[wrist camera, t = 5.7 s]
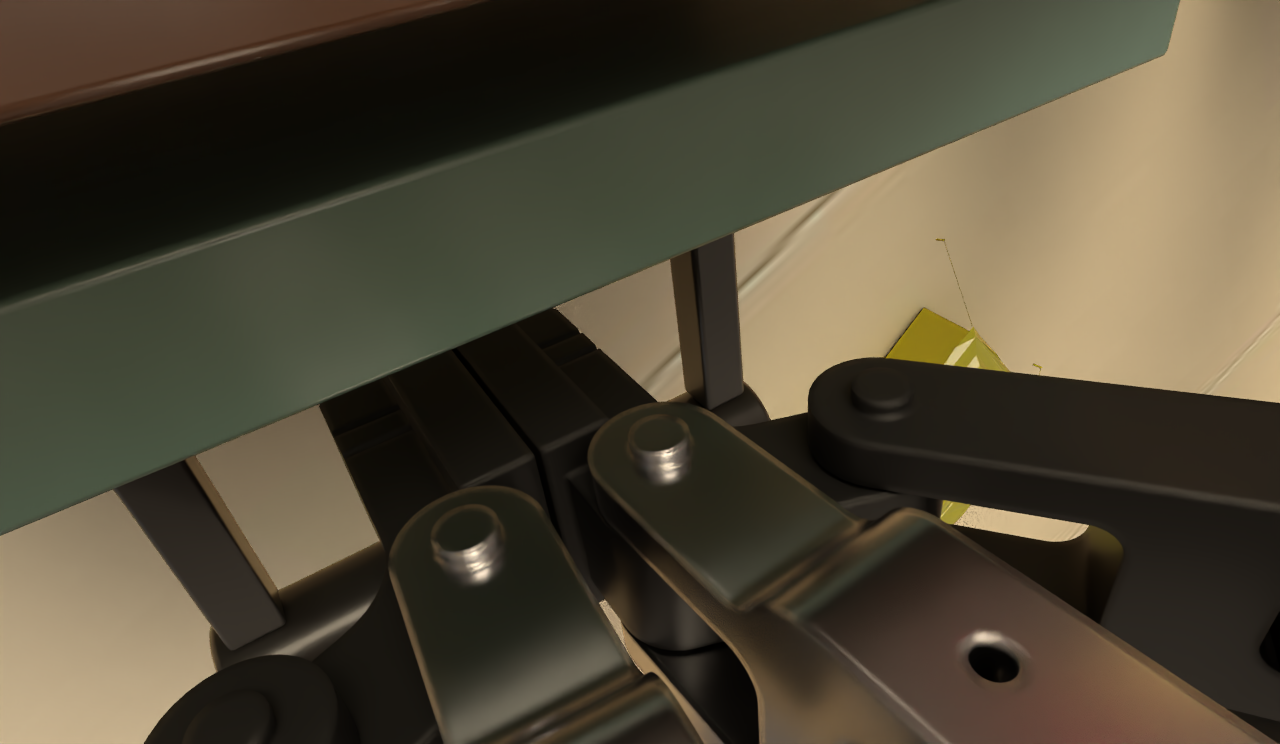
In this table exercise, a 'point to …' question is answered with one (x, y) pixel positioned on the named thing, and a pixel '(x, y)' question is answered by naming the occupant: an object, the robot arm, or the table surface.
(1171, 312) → the table surface
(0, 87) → the cabinet
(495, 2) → the drawer
